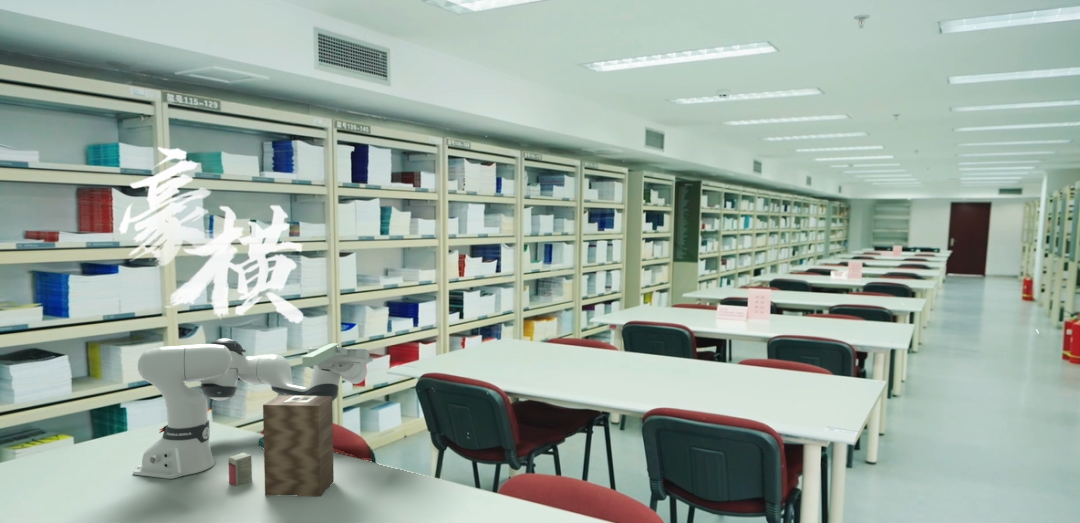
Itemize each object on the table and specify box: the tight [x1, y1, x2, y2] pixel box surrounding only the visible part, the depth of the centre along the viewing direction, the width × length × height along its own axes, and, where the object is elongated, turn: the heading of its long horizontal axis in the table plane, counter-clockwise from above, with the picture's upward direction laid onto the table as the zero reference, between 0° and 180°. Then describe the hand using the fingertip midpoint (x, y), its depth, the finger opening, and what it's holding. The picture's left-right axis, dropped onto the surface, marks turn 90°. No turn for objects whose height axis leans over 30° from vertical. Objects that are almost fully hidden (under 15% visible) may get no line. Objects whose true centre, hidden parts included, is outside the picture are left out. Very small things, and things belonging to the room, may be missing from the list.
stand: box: [262, 394, 335, 497], centre depth 183 cm, size 16×10×26 cm, turn 87°
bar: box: [301, 342, 340, 368], centre depth 199 cm, size 3×22×3 cm, turn 177°
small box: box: [227, 452, 253, 487], centre depth 189 cm, size 5×4×8 cm
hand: (331, 348), depth 207 cm, fingers closed on bar, 3 cm apart
